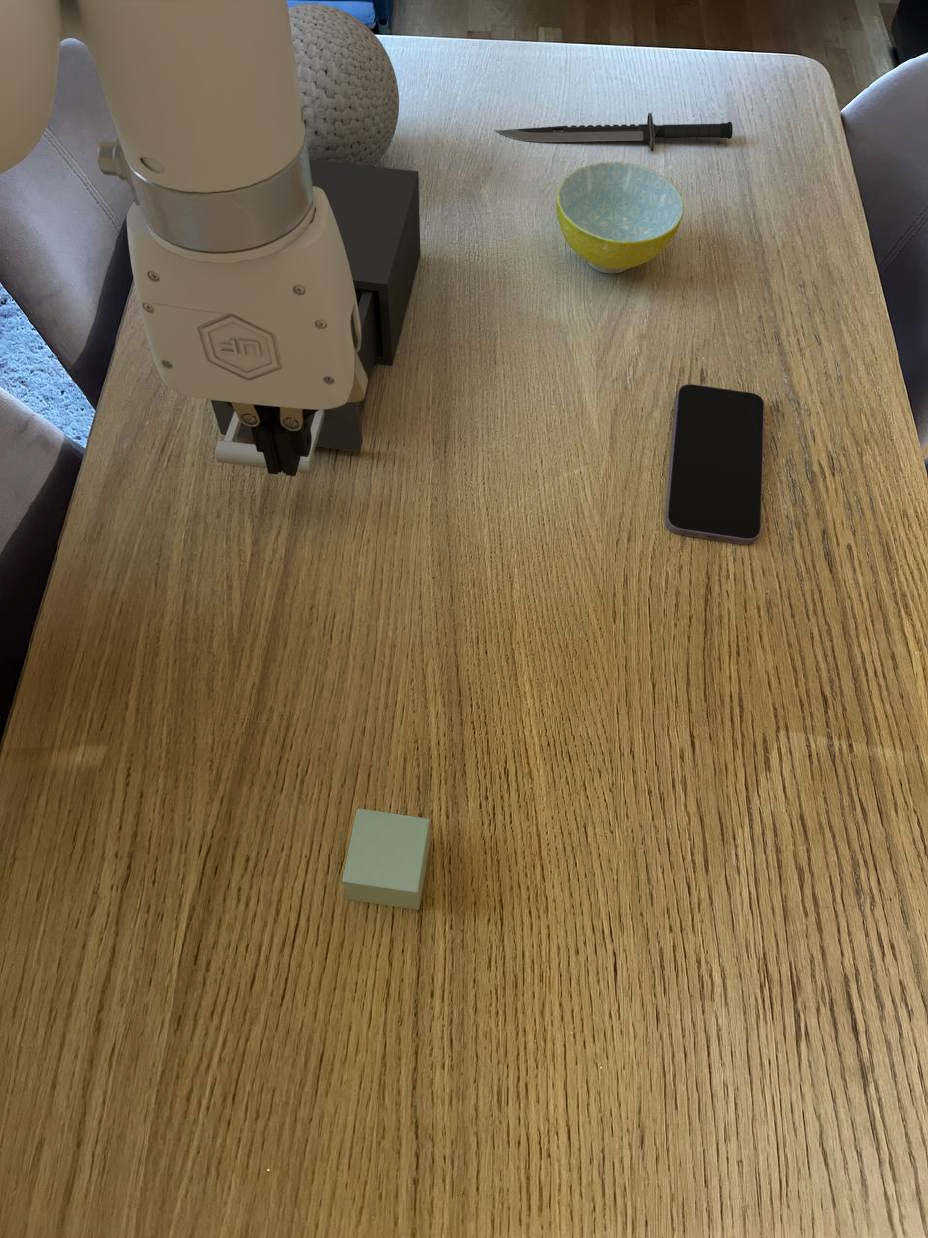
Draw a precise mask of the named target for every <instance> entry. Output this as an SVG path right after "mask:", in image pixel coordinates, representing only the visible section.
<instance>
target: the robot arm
mask: <svg viewBox="0 0 928 1238" xmlns="http://www.w3.org/2000/svg"><path fill="white" fill-rule="evenodd" d="M288 8H289V6H288V0H0V175H2V174H4V173H5V172H8V171H10V170H11V169H12V168H14V167H15V166H17V165H18V164H20V163H21V162H23V161H24V160H25V159H26V158H27V157H28V156H29V155H30V153H31V152H32V151H33V150H34V149H35V147H36V146H37V145H38V144H39V143H40V141H41V139H42V137H43V135H44V134H45V131H46V129H47V127H48V125H49V123H50V120H51V118H52V114H53V107H54V103H55V97H56V90H57V84H58V77H59V65H60V63H59V61H60V50H61V49H60V48H61V42H63V41H64V40H68V39H74V40H77V41H78V42H81V43H82V44H83V45H84V46H85V47H86V48H87V49H88V51H89V53H90V55H91V60H92V61H93V64H94V67H95V70H96V73H97V76H98V78H99V79H98V80H99V82H100V85H101V88H102V91H103V95H104V98H105V100H106V104H107V107H108V110H109V113H110V116H111V119H112V122H113V125H114V128H115V133H116V135H117V137H118V139H117V140H116V141H106V140H101V141H100V142H99V144H98V146H97V152H96V153H97V164H98V167H99V170H100V172H101V173H102V174H103V175H105V176H111V177H118V178H119V179H120V180H121V181H125V182H126V183H127V184H128V185H129V188H130V190H131V194H132V197H133V200H134V201H133V202H132V203H131V205H130V206H129V207H128V208H129V209H128V210H127V213H126V233H127V243H128V251H129V258H130V266H131V270H132V276H133V282H134V288H135V293H136V299H137V304H138V308H139V312H140V316H141V320H142V324H143V329H144V332H145V336H146V339H147V343H148V347H149V349H150V352H151V355H152V359H153V362H154V365H155V368H156V371H157V372H158V374H159V376H160V378H161V380H162V382H163V383H164V384H165V385H166V387H167V388H169V389H170V390H171V391H173V392H176V393H178V394H180V395H182V396H186V397H191V398H196V399H201V400H209V401H211V400H218V401H223V402H225V403H226V404H228V405H229V406H231V407H232V408H233V409H234V410H235V412H236V414H237V416H238V418H239V420H240V422H242V423H243V424H244V425H246V426H249V427H251V431H252V435H253V438H252V439H253V442H254V445H255V446H256V449H257V451H258V452H263V455H264V459H265V462H266V466H267V468H266V469H267V470H266V471H267V473H268V474H269V475H278V474H279V473H283V474H285V476H289V477H296V476H297V473H298V472H297V469H298V465H299V462H300V458H301V456H302V457H308V456H309V453H310V449H311V443H312V435H311V429H310V424H309V419H308V418H309V417H310V416H311V415H313V414H314V413H316V412H317V411H319V410H324V409H332V408H336V407H339V406H342V405H344V404H345V403H350V402H360V401H362V400H364V401H365V399H364V397H365V398H366V395H365V393H366V394H367V392H366V389H367V390H368V388H367V385H368V386H369V384H368V378H367V375H366V373H365V371H364V368H363V366H362V364H361V361H360V359H359V357H358V354H357V352H358V351H359V350H360V348H361V325H360V318H359V311H358V305H357V300H356V294H355V289H354V284H353V280H352V275H351V271H350V266H349V262H348V259H347V255H346V251H345V247H344V244H343V241H342V238H341V234H340V231H339V228H338V225H337V222H336V220H335V217H334V214H333V211H332V209H331V206H330V204H329V202H328V199H327V197H326V194H325V193H324V191H323V190H322V189H321V188H318V187H315V186H313V184H312V177H311V170H310V163H309V155H308V148H307V141H306V134H305V127H304V120H303V112H302V106H301V98H300V91H299V84H298V77H297V70H296V63H295V56H294V49H293V42H292V34H291V27H290V20H289V12H288Z"/></svg>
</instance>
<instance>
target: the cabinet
mask: <svg viewBox="0 0 928 1238" xmlns="http://www.w3.org/2000/svg"><path fill="white" fill-rule="evenodd" d="M309 163H310V170H311V177H312V184H313V186H315V187H318V188H321V189H322V190H323V191H324V193H325V194H326V197H327V199H328V202H329V204H330V206H331V209H332V211H333V214H334V217H335V220H336V222H337V225H338V228H339V231H340V234H341V238H342V241H343V244H344V247H345V251H346V255H347V259H348V262H349V266H350V271H351V275H352V280H353V284H354V288H356V289H365V290H373V291H378V292H379V306H380V320H381V334H382V336H381V340H380V343H379V347H378V351H377V354H376V358H375V362H374V365H381V366H382V365H383V366H391V367H392V366H394V362H395V359H396V358H395V357H396V354H397V351H398V346H399V342H400V338H401V334H402V330H403V326H404V323H405V319H406V315H407V310H408V306H409V302H410V299H411V295H412V290H413V287H414V283H415V278H416V275H417V272H418V267H419V263H420V260H421V255H422V254H421V222H420V221H421V220H420V219H421V218H420V217H421V216H420V215H421V214H420V173H419V171H418V170H411V169H400V168H391V167H384V166H383V167H382V166H375V167H374V166H365V165H356V164H347V163H338V162H328V161H319V160H310V159H309Z"/></svg>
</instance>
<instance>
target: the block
mask: <svg viewBox="0 0 928 1238" xmlns="http://www.w3.org/2000/svg"><path fill="white" fill-rule="evenodd" d="M431 840H432V838H431V819H430V818H427V817H421V816H420V817H419V816H414V815H406V814H400V813H394V812H388V811H387V812H386V811H379V810H373V809H366V808H359V807H358V808H357V809H356V812H355V816H354V822H353V827H352V832H351V836H350V840H349V846H348V851H347V855H346V860H345V865H344V870H343V874H342V879H341V882H342V885H343V888H344V891H345V894H346V896H347V898H348V899H347V900H349V901H355V902H362V903H369V904H375V905H381V906H387V907H395V908H400V909H401V908H402V909H406V910H407V909H408V910H413V911H419V910H420V909H421V903H422V896H423V891H424V885H425V879H426V871H427V865H428V860H429V854H430V849H431V848H430V847H431V842H432V841H431Z"/></svg>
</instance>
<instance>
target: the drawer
mask: <svg viewBox="0 0 928 1238" xmlns="http://www.w3.org/2000/svg"><path fill="white" fill-rule="evenodd" d="M354 289H355V294H356V300H357V305H358V311H359V318H360V325H361V348H360V350H359V351H358V352H357V354H358V357H359V359H360V361H361V364H362V366H363V368H364V371H365V373H366V375H367V378H368V385H367V389H366V393H365V397H364V400H362V401H360V402H350V403H345V404H344V405H342V406H339V407H336V408H332V409H324V410H319V411H317V412H316V413H314V414H313V415H311V416H310V417H309V418H308V419H309V424H310V429H311V435H312V443H311V449H310V453H309V456H308V457H302V456H301V458H300V462H299V465H298V469H297V473H300V474H307V475H311V474H313V473H314V469H315V463H316V457H315V450H316V447H319V448H325V449H326V448H327V449H334V450H341V451H350V452H361V451H362V447H363V443H364V438H363V437H364V436H363V427H362V426H363V425H362V419H361V418H362V417H361V414H362V410H363V406H364V403H365V399H366V396H367V392H368V388H369V384H370V380H371V378H372V377H371V376H372V373H373V370H374V366H375V364H374V362H375V358H376V354H377V351H378V347H379V343H380V340H381V336H382V334H381V320H380V306H379V292H378V291H373V290H365V289H356V288H354ZM210 402H211V405H212V406H211V407H212V410H213V412H214V416H215V419H216V422H217V423H216V424H217V425H218V429H219V432H220V434H221V435H222V436H223V435H224V439H223V440H220V439H219V440H218V441H217V443H216V446H215V451H214V452H215V454H214V455H215V460H216V462H217V463H220V464H228V465H237V466H242V467H243V466H244V467H250V468H251V467H252V468H260V469H267V466H266V462H265V459H264V455H263V452H258V451H257V449H256V446H255V444H253V443H244V442H239V441H238V442H237V441H236V439H237V437H239V438H247V439H254V438H253V435H252V431H251V427H249V426H246V425H244V424H243V423H242V422H240V420H239V418H238V416H237V414H236V412H235V410H234V409H233V408H232V407H231V406H229V405H228V404H226V403H225V402H223V401H218V400H210Z"/></svg>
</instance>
